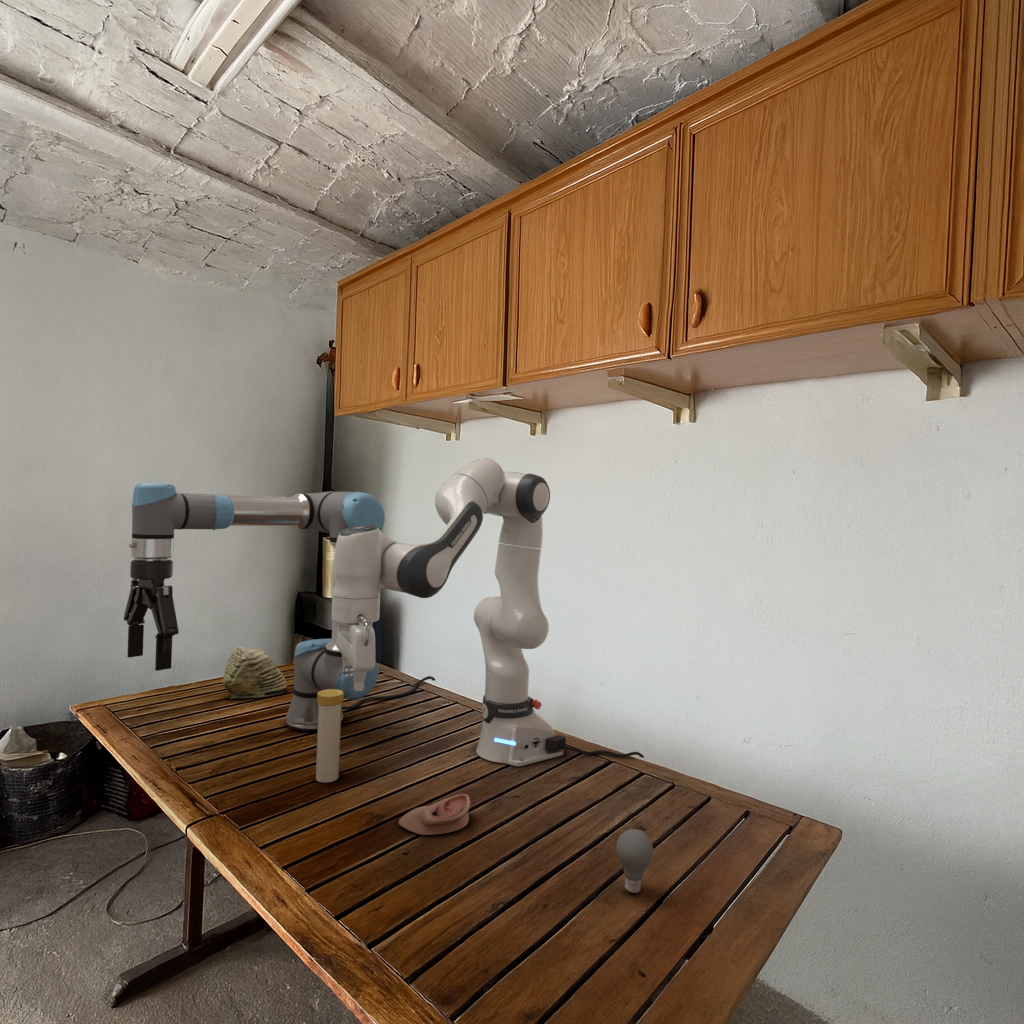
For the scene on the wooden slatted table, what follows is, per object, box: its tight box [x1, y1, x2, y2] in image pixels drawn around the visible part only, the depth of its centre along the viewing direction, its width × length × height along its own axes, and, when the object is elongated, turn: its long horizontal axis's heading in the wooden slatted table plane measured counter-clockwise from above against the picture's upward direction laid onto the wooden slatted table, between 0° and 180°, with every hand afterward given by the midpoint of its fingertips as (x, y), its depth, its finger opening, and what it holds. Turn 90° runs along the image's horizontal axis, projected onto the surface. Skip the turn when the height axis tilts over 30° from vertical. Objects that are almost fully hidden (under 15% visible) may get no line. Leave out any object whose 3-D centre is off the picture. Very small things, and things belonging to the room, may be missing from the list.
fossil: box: [222, 646, 288, 699], centre depth 198 cm, size 9×18×15 cm, turn 132°
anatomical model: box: [397, 793, 471, 836], centre depth 125 cm, size 13×4×12 cm
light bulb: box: [615, 828, 654, 894], centre depth 106 cm, size 6×6×10 cm
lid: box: [317, 689, 345, 706], centre depth 143 cm, size 6×6×2 cm
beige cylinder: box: [315, 702, 343, 784], centre depth 143 cm, size 5×5×19 cm
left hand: (148, 662), depth 129 cm, fingers open, 13 cm apart
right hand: (353, 682), depth 121 cm, fingers open, 8 cm apart
